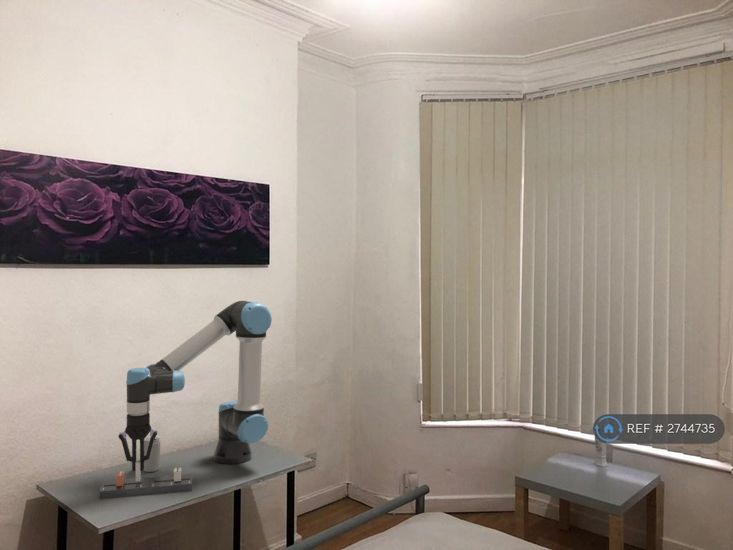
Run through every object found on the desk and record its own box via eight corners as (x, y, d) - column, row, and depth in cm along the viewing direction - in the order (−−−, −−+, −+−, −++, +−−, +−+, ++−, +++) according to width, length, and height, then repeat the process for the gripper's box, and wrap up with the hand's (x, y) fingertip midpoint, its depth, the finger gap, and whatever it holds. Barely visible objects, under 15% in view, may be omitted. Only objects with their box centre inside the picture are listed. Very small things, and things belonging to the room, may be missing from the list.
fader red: (124, 481, 211) (124, 471, 211) (123, 485, 207) (123, 475, 207) (117, 482, 211) (117, 471, 210) (116, 486, 207) (116, 475, 207)
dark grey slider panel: (192, 480, 220) (192, 473, 220) (192, 490, 211) (192, 483, 211) (103, 487, 212) (103, 480, 212) (99, 498, 203) (99, 491, 202)
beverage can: (154, 473, 227) (154, 441, 227) (139, 472, 228) (139, 440, 228) (163, 467, 233) (163, 437, 233) (148, 466, 234) (148, 435, 234)
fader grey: (181, 477, 217) (181, 467, 216) (181, 481, 213) (181, 470, 212) (174, 477, 216) (174, 467, 216) (173, 481, 212) (174, 471, 212)
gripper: (158, 409, 215) (158, 474, 216) (119, 411, 212) (119, 477, 212) (157, 414, 208) (157, 482, 209) (116, 416, 205) (116, 485, 205)
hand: (138, 479), depth 211 cm, fingers closed
